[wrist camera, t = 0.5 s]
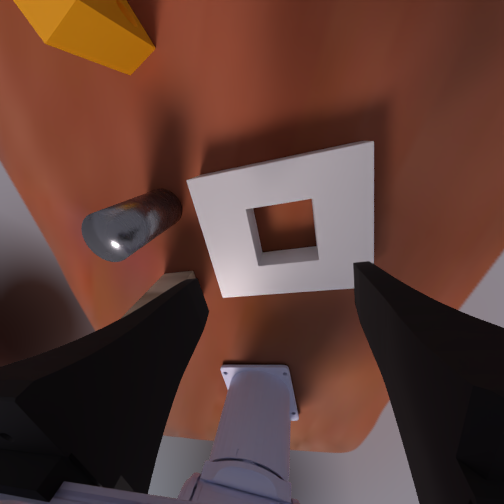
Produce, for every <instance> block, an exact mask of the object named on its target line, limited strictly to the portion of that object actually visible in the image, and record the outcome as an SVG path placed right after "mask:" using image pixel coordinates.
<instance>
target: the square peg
mask: <svg viewBox="0 0 504 504" xmlns="http://www.w3.org/2000/svg"><path fill="white" fill-rule="evenodd" d="M195 278H196V277H195V274H194V271H185V272H176V273H166V274H164V275H163V276H162V277H161V278H160V279H159V280H158V281H157V282H156V283H155V284H154V285H153V286H152V287H151V288H150V289H149V290H148V291H147V292H146V293H145V294H144V295H143V296H142V297H141V298H140V299H139V300H138V301H137V302H136V303H135V304H134V305H133V306H132V307H131V308H130V309H129V311H128V312H127V313H126V314H125V315H124V316H123V317H125V316H127V315H128V314H130V313H132V312H133V311H135V310H137V309H138V308H140V307H142V306H143V305H145V304H147V303H148V302H150V301H151V300H153V299H154V298H156V297H158V296H159V295H161V294H162V293H164V292H165V291H167V290H168V289H170V288H172V287H173V286H175V285H177V284H178V283H180V282H182V281H184V280H186V279H195ZM123 317H122V318H123Z"/></svg>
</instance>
